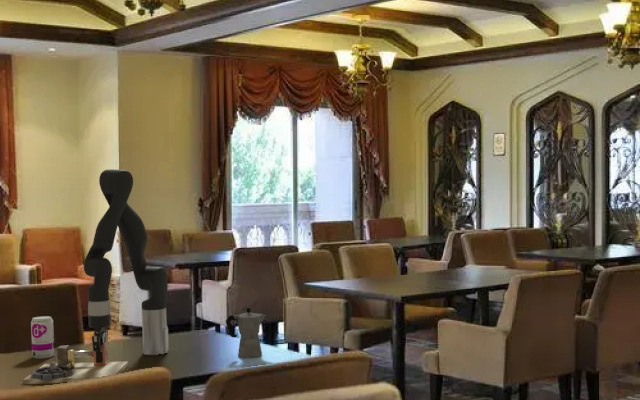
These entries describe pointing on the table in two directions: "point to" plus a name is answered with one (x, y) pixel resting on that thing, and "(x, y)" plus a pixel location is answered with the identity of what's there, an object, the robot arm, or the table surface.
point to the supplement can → (42, 337)
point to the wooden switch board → (77, 369)
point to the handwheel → (59, 373)
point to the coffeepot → (247, 333)
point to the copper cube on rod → (92, 354)
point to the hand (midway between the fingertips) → (100, 361)
